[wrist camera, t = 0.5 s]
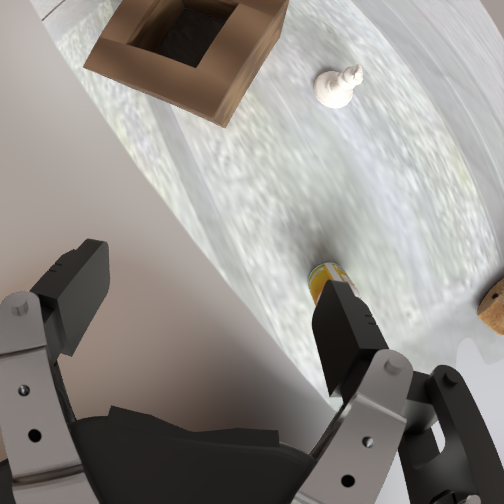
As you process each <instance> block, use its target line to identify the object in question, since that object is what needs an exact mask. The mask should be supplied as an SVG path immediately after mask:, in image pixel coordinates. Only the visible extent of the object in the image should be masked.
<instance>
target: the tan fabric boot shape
mask: <svg viewBox="0 0 504 504" xmlns="http://www.w3.org/2000/svg"><path fill="white" fill-rule="evenodd" d="M477 316H478V317H479V318H480V319H481V320H482V321H483V322H484V323H485V324H486V325H487V326H488V327H489V328H491V329H492V330H493V331H494V332H496V333H497V334H499V335H504V278H503V279H502V280H501V281H499V282H498V283H497V284H496V285H495V286H493V287H492V288H491V289H490V290H489V292H488V293H487V295H486V296H485V298H484V299H483V301H482V303H481V304H480V306H479V309H478V311H477Z"/></svg>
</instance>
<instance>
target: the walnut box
mask: <svg viewBox="0 0 504 504" xmlns="http://www.w3.org/2000/svg"><path fill="white" fill-rule="evenodd" d="M288 3H289V0H123V1H122V2H121V4H120V5H119V7H118V8H117V10H116V11H115V13H114V14H113V16H112V17H111V19H110V20H109V22H108V24H107V25H106V27H105V28H104V30H103V32H102V33H101V35H100V37H99V39H98V40H97V42H96V44H95V46H94V47H93V49H92V51H91V53H90V55H89V56H88V58H87V60H86V62H85V64H84V66H83V68H86V69H88V70H91V71H93V72H96V73H98V74H100V75H103V76H105V77H107V78H110V79H112V80H114V81H117V82H119V83H121V84H123V85H126V86H128V87H130V88H133V89H136V90H138V91H141V92H143V93H146V94H148V95H151V96H153V97H156V98H158V99H161V100H163V101H165V102H168V103H170V104H173V105H175V106H177V107H179V108H182V109H184V110H186V111H189V112H191V113H193V114H195V115H197V116H200V117H202V118H204V119H206V120H208V121H210V122H213V123H215V124H217V125H219V126H221V127H223V128H226V126H227V124H228V122H229V121H230V119H231V117H232V115H233V113H234V112H235V110H236V108H237V106H238V105H239V103H240V101H241V99H242V98H243V96H244V94H245V92H246V91H247V89H248V87H249V86H250V84H251V82H252V81H253V79H254V77H255V76H256V74H257V72H258V71H259V69H260V67H261V66H262V64H263V62H264V61H265V59H266V58H267V56H268V54H269V53H270V51H271V50H272V48H273V47H274V45H275V43H276V42H277V40H278V39H279V37H280V34H281V30H282V26H283V22H284V19H285V15H286V11H287V7H288ZM185 8H187V9H191V10H194V11H197V12H200V13H203V14H206V15H209V16H212V17H215V18H218V19H221V20H223V21H226V23H225V24H224V26H223V27H222V29H221V30H220V32H219V33H218V35H217V36H216V38H215V39H214V41H213V42H212V44H211V45H210V47H209V49H208V50H207V52H206V53H205V55H204V57H203V58H202V60H201V61H200V63H199V65H198V66H197V68H194V67H191V66H188V65H186V64H183V63H181V62H178V61H175V60H173V59H170V58H167V57H164V56H161V55H158V54H156V52H157V50H158V49H159V47H160V45H161V44H162V42H163V41H164V39H165V37H166V36H167V34H168V33H169V31H170V30H171V28H172V27H173V25H174V24H175V22H176V21H177V19H178V18H179V16H180V15H181V13H182V12H183V11H184V9H185Z"/></svg>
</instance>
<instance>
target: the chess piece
mask: <svg viewBox="0 0 504 504" xmlns="http://www.w3.org/2000/svg"><path fill="white" fill-rule="evenodd" d="M362 72H363V70H362V66H361V65H357V66H356V67H348V68H346V69H345V71H343V72H340V73H339V72H336V71H327V72H324V73H322V74H320V75H319V76H318V77H317V78H316V80H315V83H314V92H315V95H316V97H317V99H318V100H319V101H320V102H321V103H322V104H324V105H325V106H327V107H330V108H341V107H343V106H345V105H346V104H347V103H348V102H349V101H350V100H351V98H352V95H353V88H354V86H355V85H358V84H360V83H361V82H362V80H363V75H362Z"/></svg>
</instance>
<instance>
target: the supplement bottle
mask: <svg viewBox="0 0 504 504" xmlns="http://www.w3.org/2000/svg"><path fill="white" fill-rule="evenodd" d="M327 280H336V281H342V282H348V283H349V285H350V287H351V289H352V291H353V293H354V295H355V297H359V298H360V299H361V296H360V293H359V291H358V290H357V288H356V287H355V285H354V284H353V282H352V281H351V280H350V278H349V277H348V275H347V274H346V272H345V271H344V270H343V269H342V268H341V267H340V266H339V265H337V264H335V263H323V264H321V265H319V266H317V267H316V268H315V269H314V270H313V271H312V272H311V274H310V276H309V279H308V286H309V290H310V293H311V295H312V297H313V300H314V303H315V305H317V303H318V300H319V298H320V295H321V293H322V290H323V287H324V285H325V283H326V281H327Z"/></svg>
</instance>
